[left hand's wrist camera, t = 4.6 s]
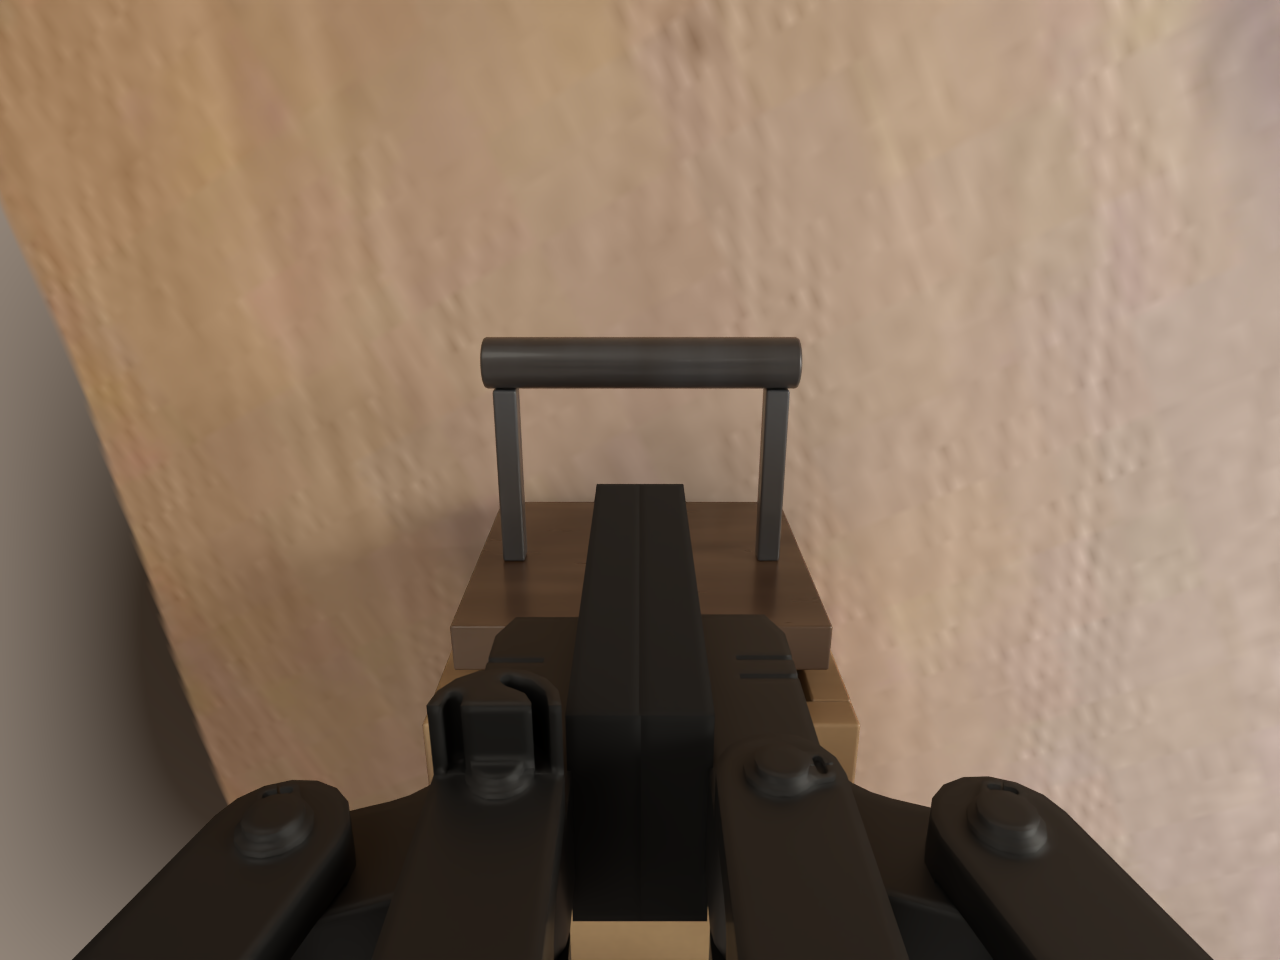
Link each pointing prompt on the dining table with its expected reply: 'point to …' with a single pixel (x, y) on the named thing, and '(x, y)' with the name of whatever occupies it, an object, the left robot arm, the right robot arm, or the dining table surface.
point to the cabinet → (679, 950)
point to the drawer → (720, 531)
